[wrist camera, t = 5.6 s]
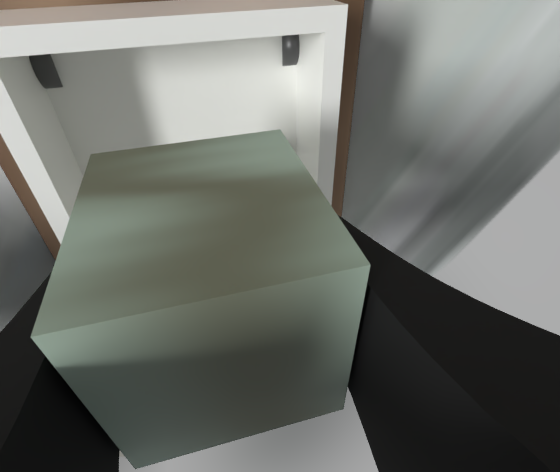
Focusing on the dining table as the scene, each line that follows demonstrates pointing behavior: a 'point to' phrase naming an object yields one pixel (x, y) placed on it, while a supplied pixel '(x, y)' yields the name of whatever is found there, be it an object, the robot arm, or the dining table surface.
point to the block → (202, 295)
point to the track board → (354, 15)
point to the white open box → (165, 83)
